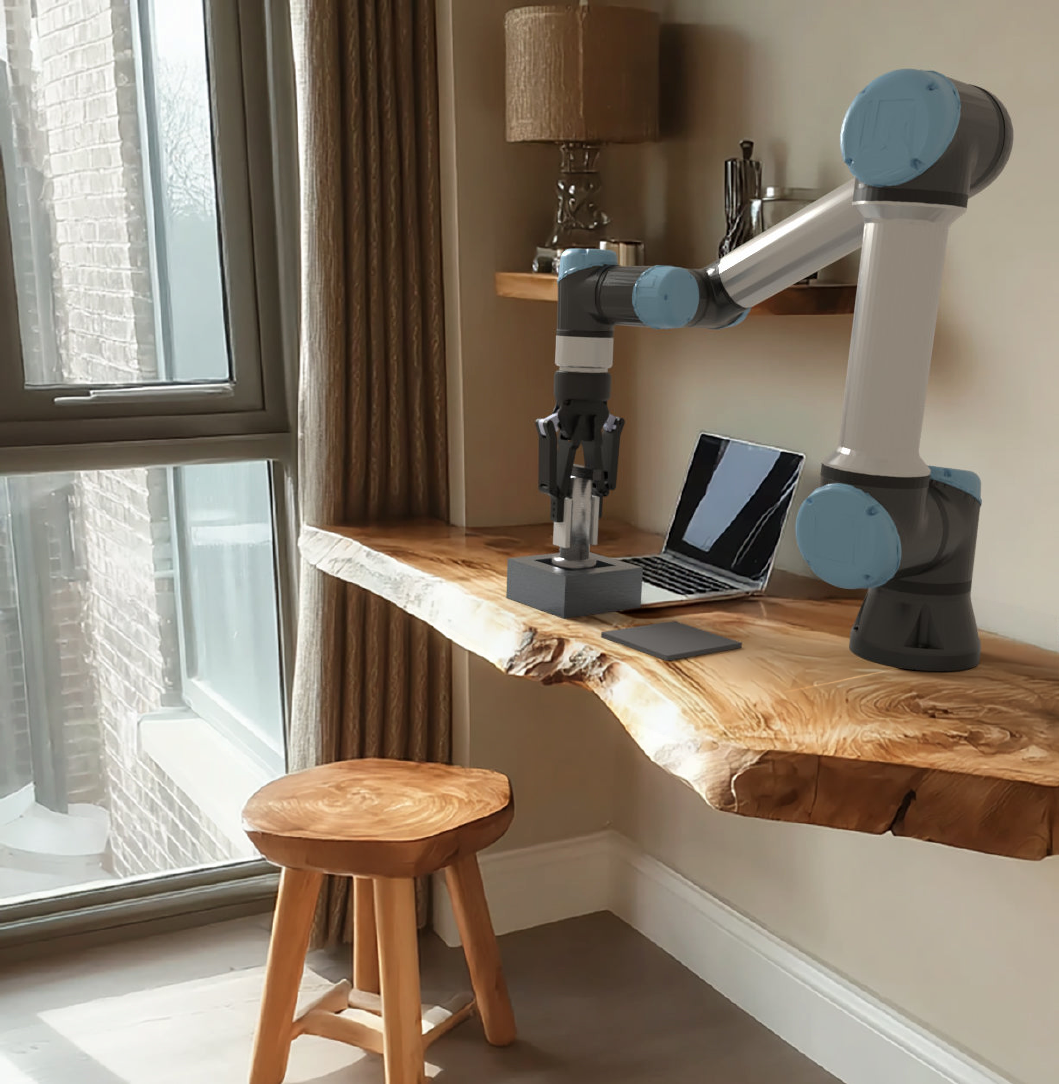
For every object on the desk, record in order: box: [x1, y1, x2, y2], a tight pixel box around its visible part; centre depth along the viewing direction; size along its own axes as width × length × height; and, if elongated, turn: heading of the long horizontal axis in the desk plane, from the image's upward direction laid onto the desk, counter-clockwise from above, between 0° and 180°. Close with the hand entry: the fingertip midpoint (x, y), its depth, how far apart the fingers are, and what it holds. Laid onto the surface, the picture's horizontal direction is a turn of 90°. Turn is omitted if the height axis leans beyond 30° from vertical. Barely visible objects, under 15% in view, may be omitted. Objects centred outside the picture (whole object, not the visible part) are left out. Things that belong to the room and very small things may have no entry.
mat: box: [600, 620, 743, 662], centre depth 157 cm, size 12×12×1 cm
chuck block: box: [505, 551, 644, 619], centre depth 175 cm, size 13×13×6 cm
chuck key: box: [552, 463, 601, 571], centre depth 174 cm, size 8×6×14 cm
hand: (575, 544), depth 174 cm, fingers closed on chuck key, 4 cm apart
